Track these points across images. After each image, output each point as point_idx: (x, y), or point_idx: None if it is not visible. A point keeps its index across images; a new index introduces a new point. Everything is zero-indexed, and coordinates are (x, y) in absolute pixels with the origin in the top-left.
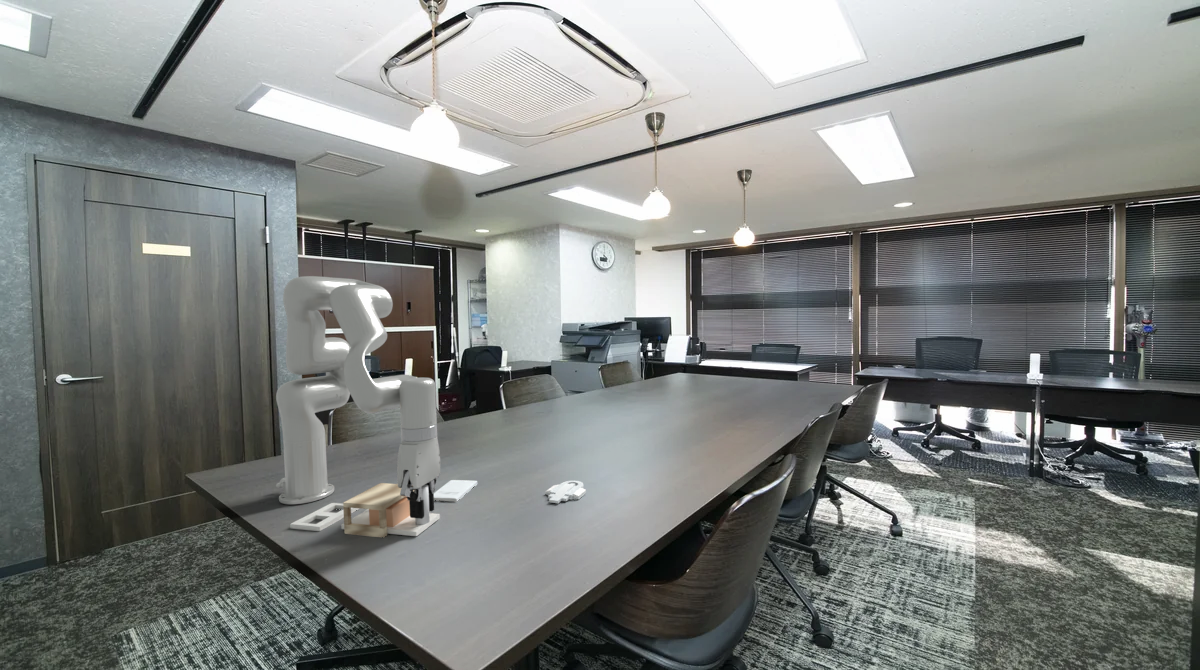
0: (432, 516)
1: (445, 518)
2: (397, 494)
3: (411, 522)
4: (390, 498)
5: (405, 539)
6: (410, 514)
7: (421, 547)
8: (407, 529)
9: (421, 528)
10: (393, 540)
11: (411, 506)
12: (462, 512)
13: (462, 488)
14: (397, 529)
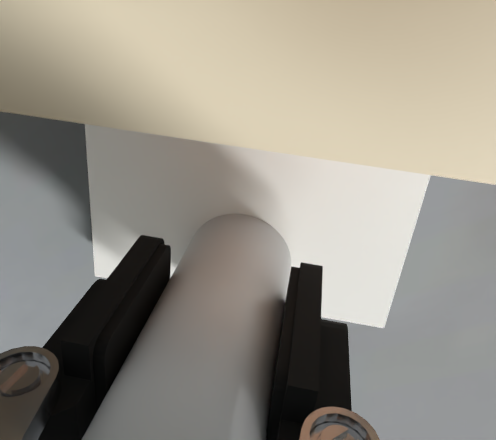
0: (339, 293)
1: (389, 332)
2: (211, 66)
3: (219, 183)
4: (26, 33)
5: (72, 202)
6: (133, 249)
7: (23, 320)
8: (108, 206)
9: None
10: (39, 129)
11: (58, 334)
12: (483, 402)
13: None
14: (90, 130)
